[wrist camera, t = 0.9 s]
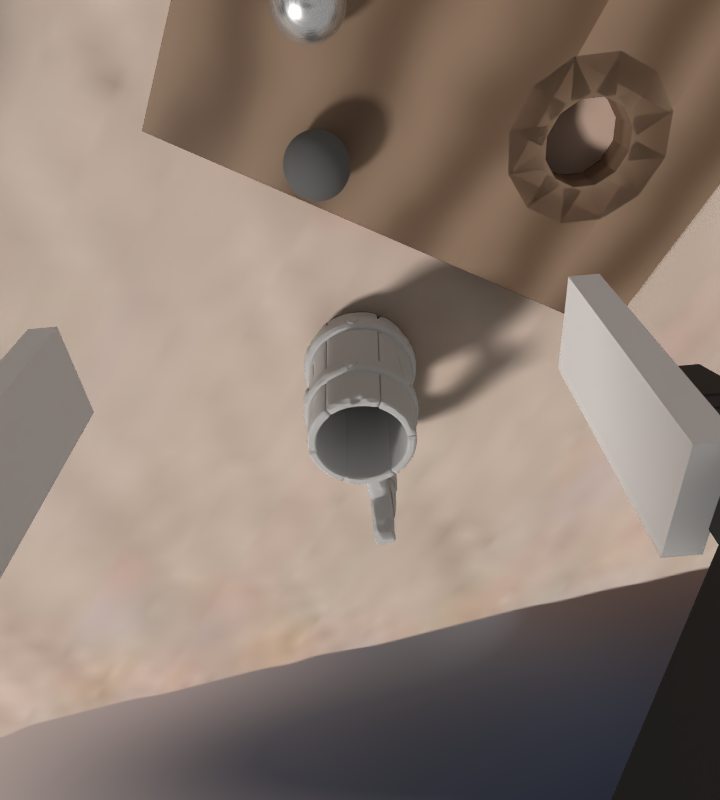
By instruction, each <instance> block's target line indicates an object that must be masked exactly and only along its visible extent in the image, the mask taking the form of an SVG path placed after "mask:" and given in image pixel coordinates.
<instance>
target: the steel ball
mask: <svg viewBox="0 0 720 800" xmlns="http://www.w3.org/2000/svg"><path fill="white" fill-rule="evenodd" d="M269 5H270V10H271V14H272V17H273V19H274V21H275V23H276V25H277V26H278V28H279V29H280V31H281V32H282V33H283V34H284V35H285V36H286V37H288V38H289V39H290V40H292V41H294V42H296V43H298V44H302V45H308V46H310V45H318V44H321V43H323V42H325V41H327V40H329V39H330V38H331V37H332V36H333V35H334V34H336V32H337V31H338V30H339V28H340V26H341V25H342V22H343V20H344V17H345V14H346V9H347V0H269Z"/></svg>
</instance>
